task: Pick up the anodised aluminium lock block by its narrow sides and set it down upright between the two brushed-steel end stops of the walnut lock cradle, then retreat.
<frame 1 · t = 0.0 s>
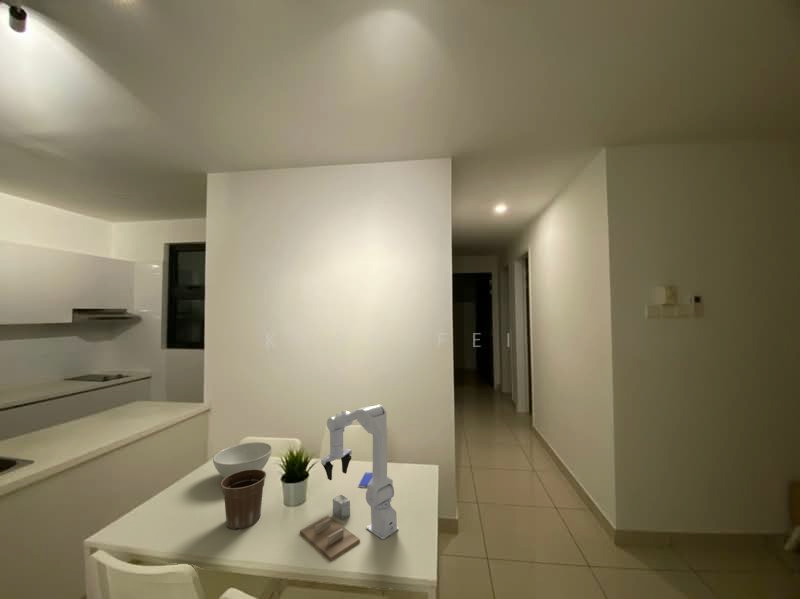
hand: (337, 476, 142), 10 cm above the table, fingers open, 7 cm apart
lock cradle: (329, 537, 117), on the table
plant pot: (244, 520, 129), on the table
lock block: (341, 514, 131), on the table
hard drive: (370, 482, 157), on the table
decorative bowl: (243, 477, 164), on the table
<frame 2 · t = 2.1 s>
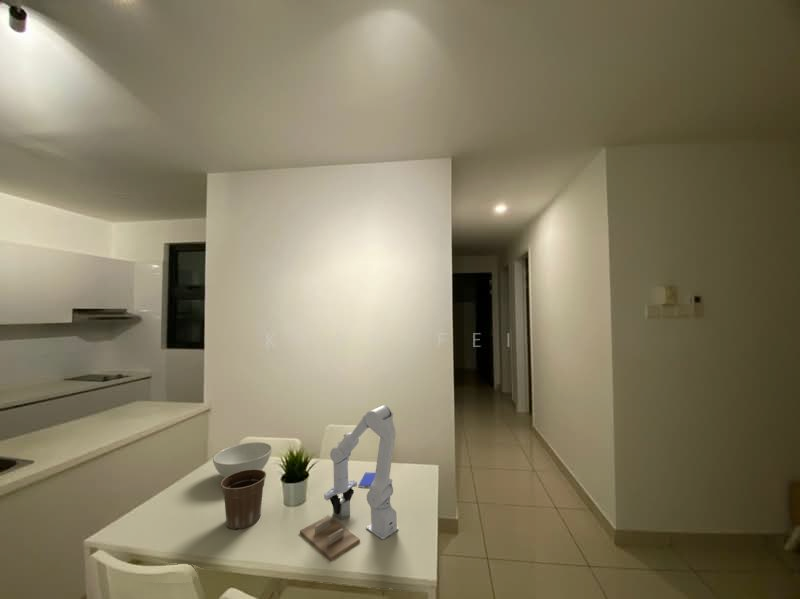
hand: (341, 510, 131), 1 cm above the table, fingers closed on lock block, 4 cm apart
lock block: (341, 514, 131), on the table, touching gripper
everything else where it was.
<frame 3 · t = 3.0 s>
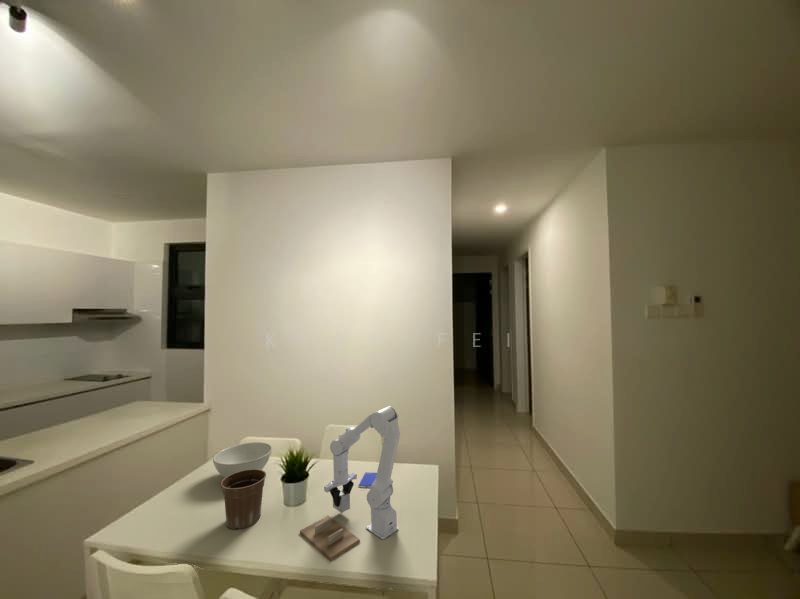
hand: (341, 503, 131), 4 cm above the table, fingers closed on lock block, 4 cm apart
lock block: (341, 507, 131), point 3 cm above the table, touching gripper
everything else where it was.
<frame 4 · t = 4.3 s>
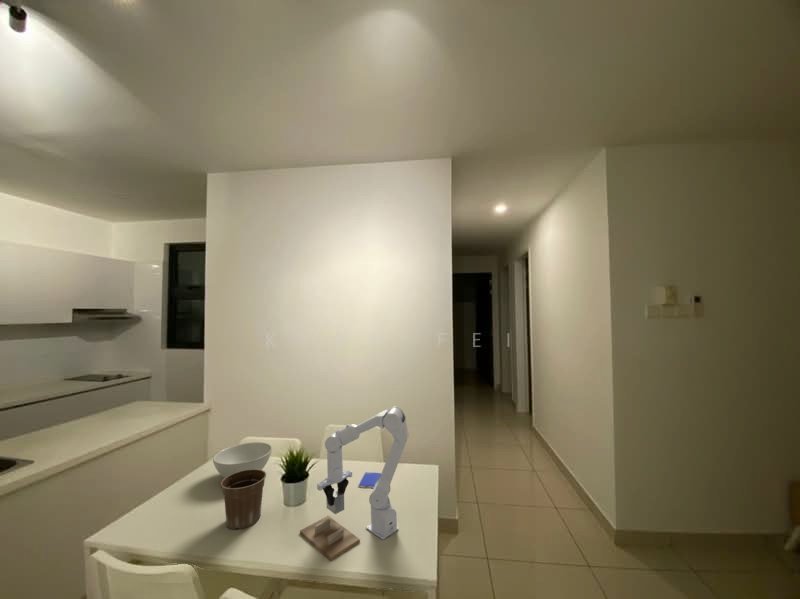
hand: (335, 502, 125), 8 cm above the table, fingers closed on lock block, 4 cm apart
lock block: (335, 508, 125), point 6 cm above the table, touching gripper
everything else where it was.
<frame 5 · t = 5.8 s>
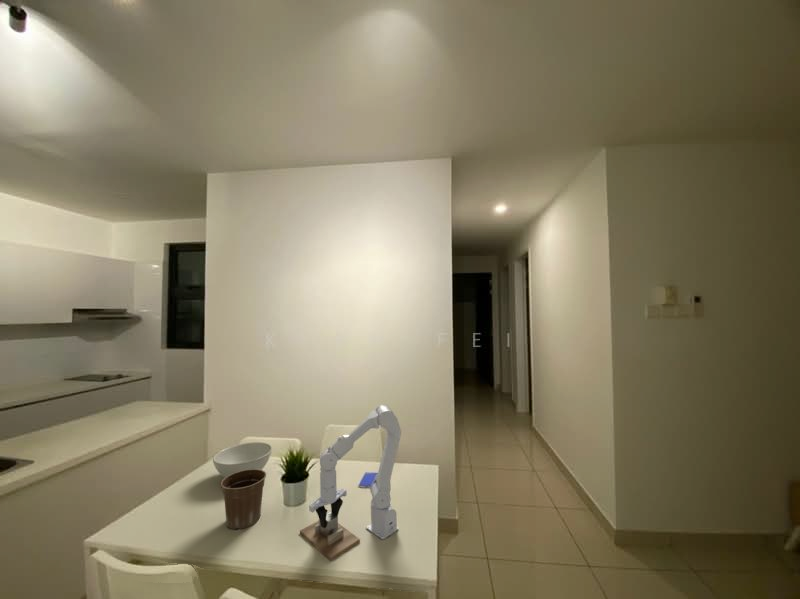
hand: (328, 523, 117), 5 cm above the table, fingers closed on lock block, 4 cm apart
lock block: (328, 532, 117), point 2 cm above the table, touching gripper
everything else where it was.
when the fingers open (3 cm above the table, at t = 6.6 s): lock block stays where it is, resting on lock cradle.
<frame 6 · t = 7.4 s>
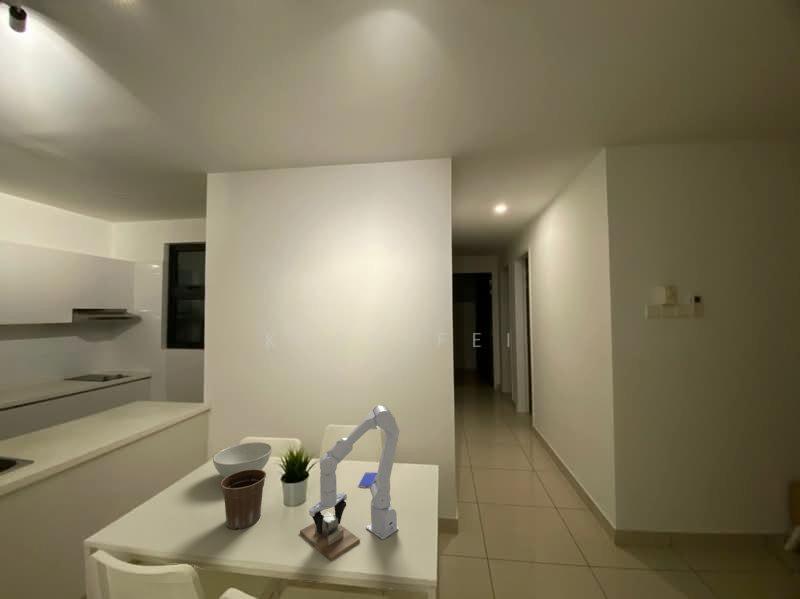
hand: (329, 527, 117), 3 cm above the table, fingers open, 7 cm apart
lock block: (328, 534, 117), point 1 cm above the table, touching lock cradle
everything else where it was.
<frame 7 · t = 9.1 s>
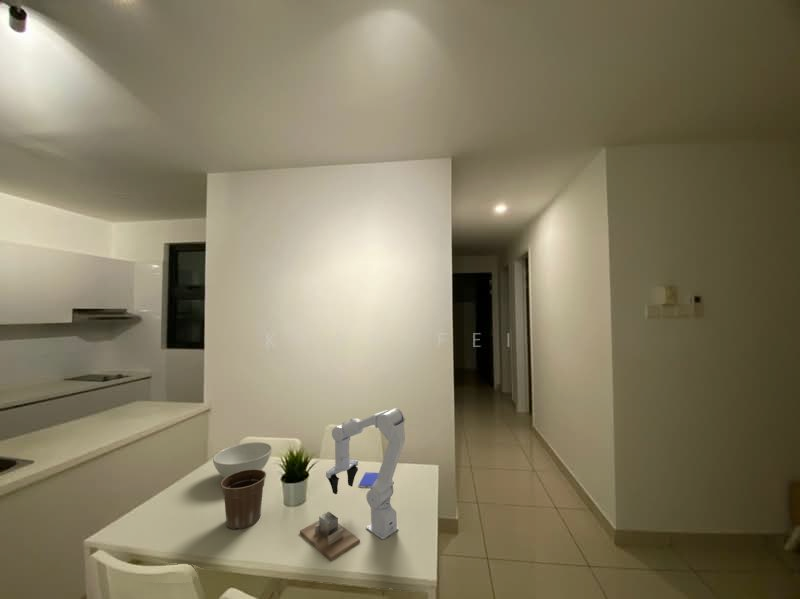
hand: (342, 489, 132), 9 cm above the table, fingers open, 7 cm apart
nothing on the table moved.
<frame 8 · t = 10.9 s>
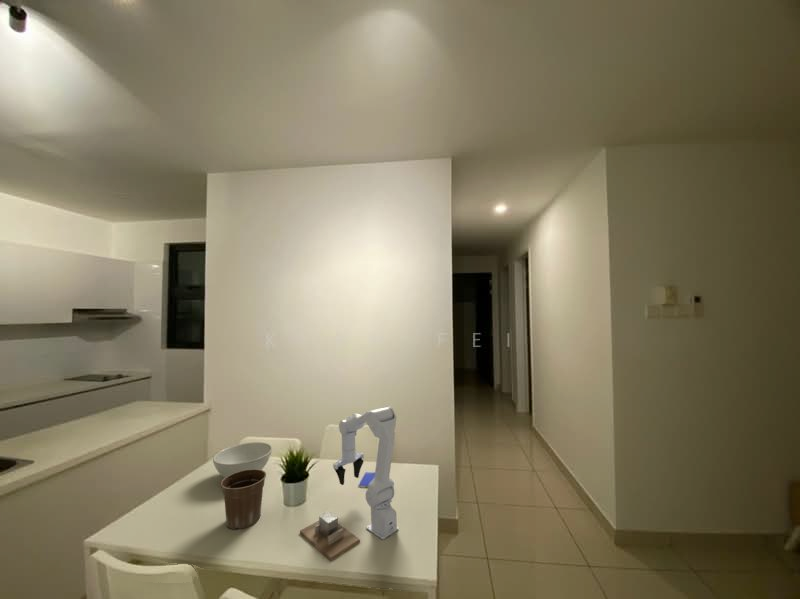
hand: (349, 480, 139), 9 cm above the table, fingers open, 7 cm apart
nothing on the table moved.
at the end: lock block 0.2 cm off-centre on the lock cradle, point 1.0 cm above the lock cradle's base; lock block tilted 0°; the gripper is holding nothing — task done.
